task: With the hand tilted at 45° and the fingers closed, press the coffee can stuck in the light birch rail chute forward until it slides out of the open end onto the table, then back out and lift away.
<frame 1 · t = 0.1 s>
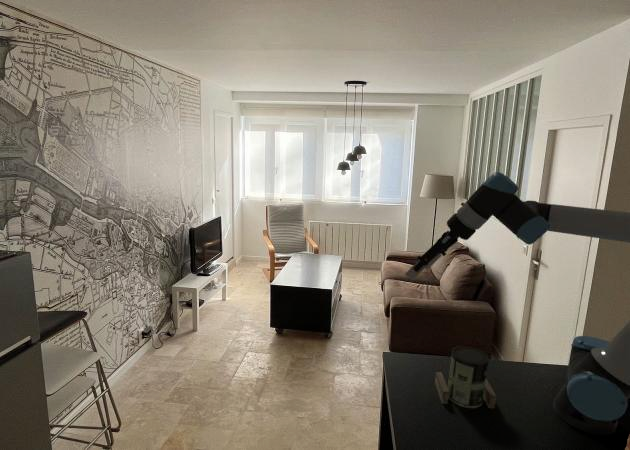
hand: (416, 271, 122), 36 cm above the table, tool tilted 35°, fingers open, 13 cm apart
coffee can: (464, 398, 121), on the table
chute: (463, 395, 122), on the table
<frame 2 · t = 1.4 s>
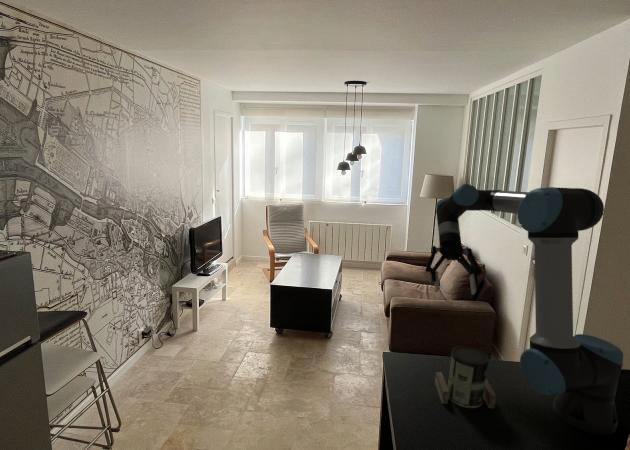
hand: (455, 291, 136), 25 cm above the table, tool tilted 45°, fingers open, 11 cm apart
nothing on the table moved.
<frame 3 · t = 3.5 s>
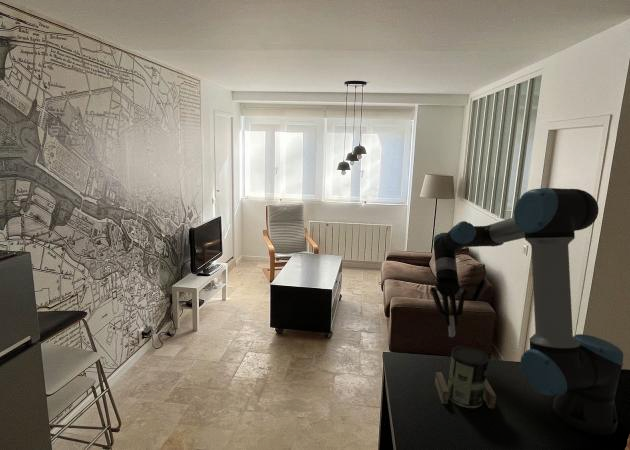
hand: (452, 335, 135), 11 cm above the table, tool tilted 45°, fingers closed
nothing on the table moved.
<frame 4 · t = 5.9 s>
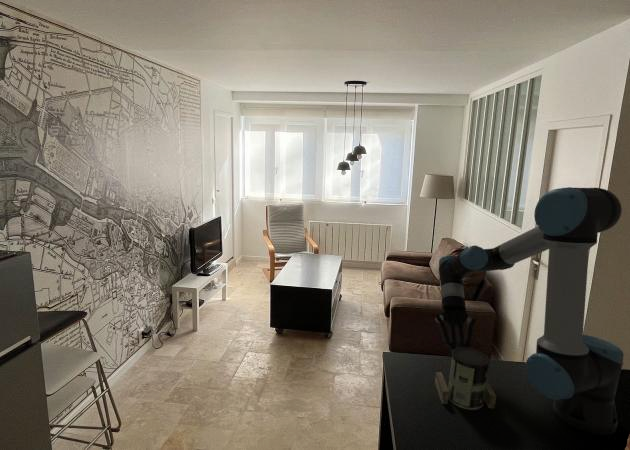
hand: (459, 370, 125), 6 cm above the table, tool tilted 45°, fingers closed
coffee can: (464, 399, 120), on the table, touching gripper
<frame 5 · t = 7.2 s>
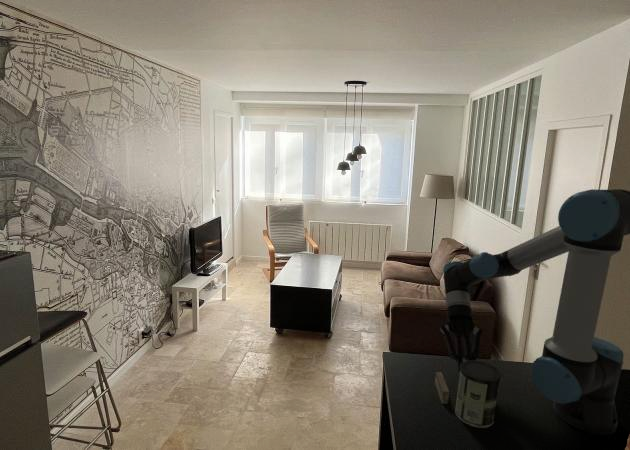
hand: (466, 384, 118), 6 cm above the table, tool tilted 45°, fingers closed
coffee can: (473, 416, 113), on the table, touching gripper
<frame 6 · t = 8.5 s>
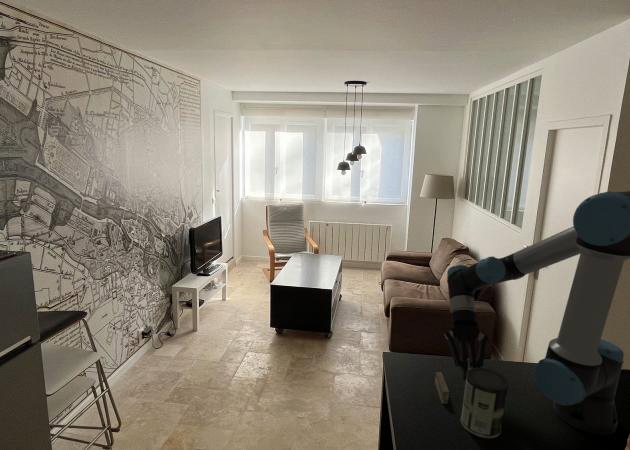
hand: (472, 392, 114), 6 cm above the table, tool tilted 45°, fingers closed
coffee can: (480, 425, 109), on the table, touching gripper
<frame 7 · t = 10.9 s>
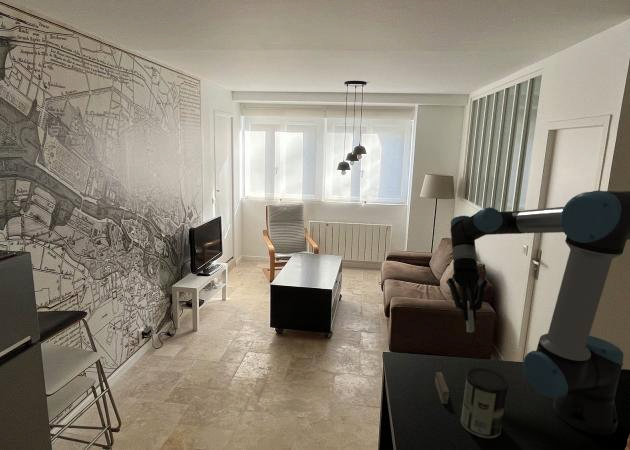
hand: (470, 331, 127), 17 cm above the table, tool tilted 35°, fingers closed
coffee can: (480, 425, 109), on the table
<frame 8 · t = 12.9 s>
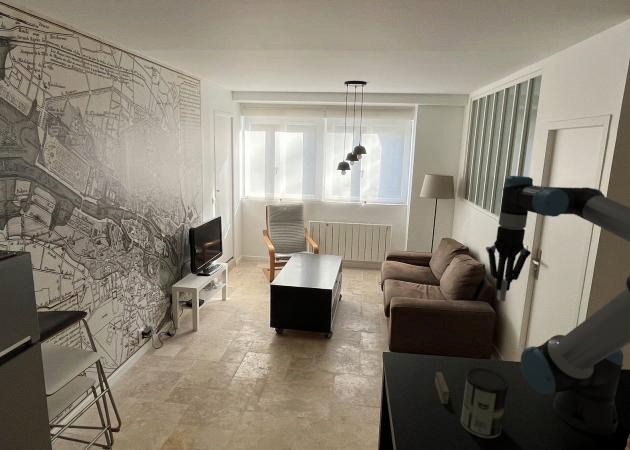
hand: (500, 299, 128), 26 cm above the table, tool pointing down, fingers closed
nothing on the table moved.
at the end: coffee can inside the target area (1.6 cm from its centre), on the table; coffee can tilted 0° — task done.
